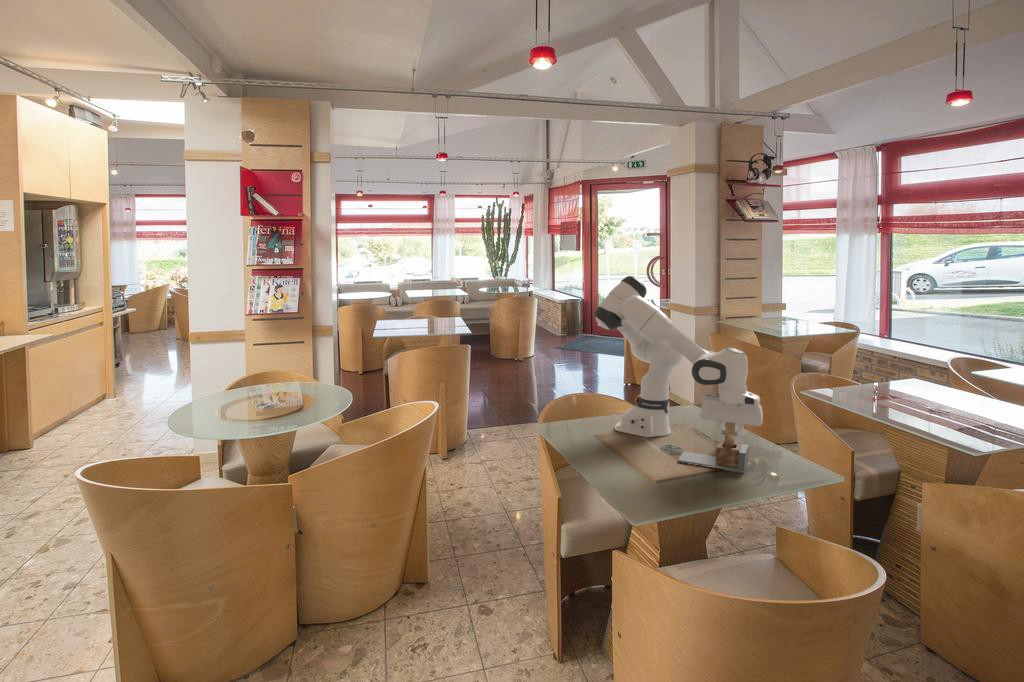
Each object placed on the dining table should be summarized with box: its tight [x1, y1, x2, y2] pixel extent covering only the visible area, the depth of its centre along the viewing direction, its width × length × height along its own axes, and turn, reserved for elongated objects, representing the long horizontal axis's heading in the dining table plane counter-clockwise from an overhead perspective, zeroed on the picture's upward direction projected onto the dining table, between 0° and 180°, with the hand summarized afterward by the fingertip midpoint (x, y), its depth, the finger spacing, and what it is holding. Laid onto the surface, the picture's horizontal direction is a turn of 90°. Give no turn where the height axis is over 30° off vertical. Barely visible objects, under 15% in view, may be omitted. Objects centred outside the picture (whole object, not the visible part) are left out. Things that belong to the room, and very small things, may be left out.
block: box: [715, 440, 742, 467], centre depth 215 cm, size 7×7×6 cm
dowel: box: [724, 422, 735, 448], centre depth 214 cm, size 3×3×12 cm
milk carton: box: [721, 422, 745, 444], centre depth 231 cm, size 7×7×19 cm
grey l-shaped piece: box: [677, 443, 749, 474], centre depth 217 cm, size 22×10×7 cm, turn 63°
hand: (729, 434), depth 214 cm, fingers closed on dowel, 3 cm apart
